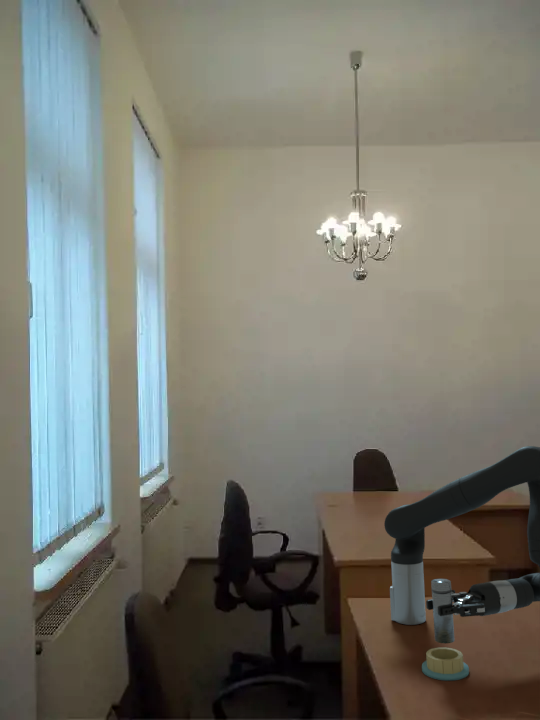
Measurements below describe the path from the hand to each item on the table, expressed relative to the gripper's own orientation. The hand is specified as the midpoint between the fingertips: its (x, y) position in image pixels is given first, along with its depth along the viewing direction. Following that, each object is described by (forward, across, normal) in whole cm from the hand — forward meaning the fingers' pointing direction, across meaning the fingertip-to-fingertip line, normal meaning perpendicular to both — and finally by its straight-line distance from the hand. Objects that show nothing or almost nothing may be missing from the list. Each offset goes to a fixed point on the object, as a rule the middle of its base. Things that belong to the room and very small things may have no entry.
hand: (433, 608), depth 169 cm
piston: (-3, 0, +8) cm, 8 cm away
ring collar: (-2, 0, +15) cm, 16 cm away
